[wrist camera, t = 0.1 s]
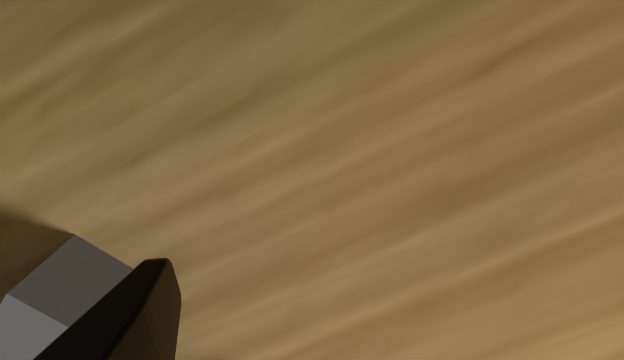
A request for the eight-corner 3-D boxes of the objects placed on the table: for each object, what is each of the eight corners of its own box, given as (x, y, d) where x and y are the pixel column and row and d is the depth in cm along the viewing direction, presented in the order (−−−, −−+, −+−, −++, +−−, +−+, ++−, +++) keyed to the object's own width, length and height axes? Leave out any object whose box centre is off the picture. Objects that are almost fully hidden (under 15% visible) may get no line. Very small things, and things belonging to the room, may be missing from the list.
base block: (120, 367, 27) (71, 456, 21) (24, 315, 26) (-55, 394, 20) (174, 292, 26) (137, 365, 20) (75, 233, 24) (6, 293, 19)
